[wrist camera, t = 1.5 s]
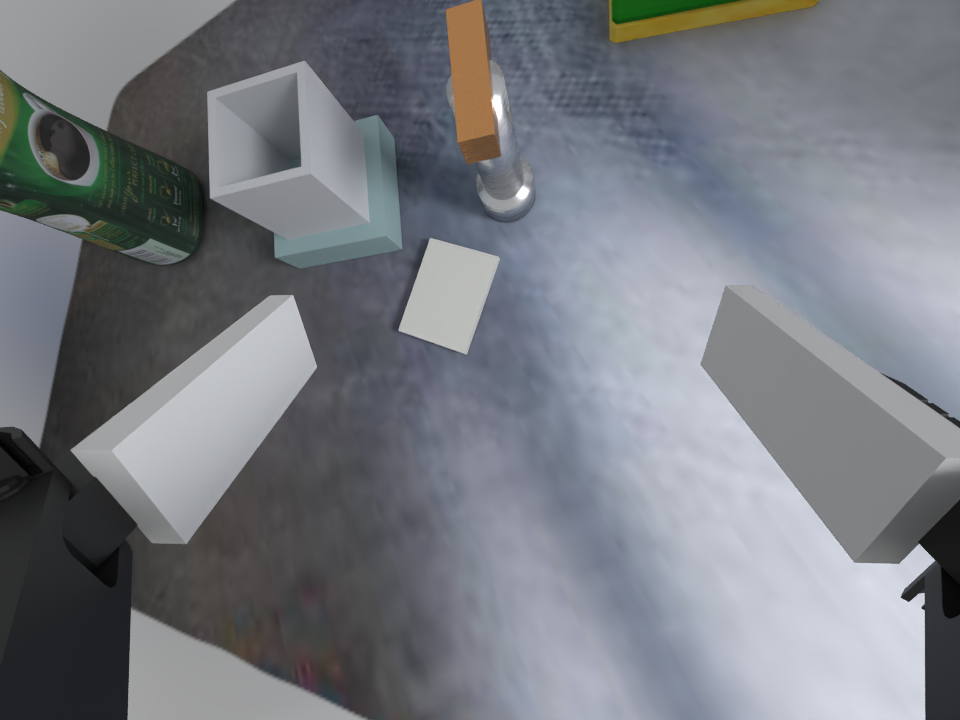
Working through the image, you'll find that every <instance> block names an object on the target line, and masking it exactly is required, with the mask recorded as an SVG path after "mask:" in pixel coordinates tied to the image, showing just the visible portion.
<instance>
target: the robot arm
mask: <svg viewBox="0 0 960 720" xmlns="http://www.w3.org/2000/svg"><path fill="white" fill-rule="evenodd" d="M701 366H702V367H703V368H704V370H705V371H706V372H707V373H708V375H709V376H710V377H711V379H712V380H713V381H714V382H715V384H716V385H717V386H718V388H719V389H720V390H721V391H722V393H723V394H724V395H725V397H726V398H727V399H728V400H729V402H730V403H731V404H732V406H733V407H734V408H735V409H736V411H737V412H738V413H739V415H740V416H741V417H742V418H743V420H744V421H745V422H746V424H747V425H748V426H749V427H750V429H751V430H752V431H753V433H754V434H755V435H756V436H757V438H758V439H759V440H760V442H761V443H762V444H763V445H764V447H765V448H766V449H767V451H768V452H769V453H770V454H771V456H772V457H773V458H774V460H775V461H776V462H777V463H778V465H779V466H780V467H781V469H782V470H783V471H784V472H785V474H786V475H787V476H788V478H789V479H790V480H791V481H792V483H793V484H794V485H795V487H796V488H797V489H798V491H799V492H800V493H801V494H802V496H803V497H804V498H805V500H806V501H807V502H808V503H809V505H810V506H811V507H812V509H813V510H814V511H815V512H816V514H817V515H818V516H819V518H820V519H821V520H822V521H823V523H824V524H825V525H826V527H827V528H828V529H829V530H830V532H831V533H832V534H833V536H834V537H835V538H836V539H837V541H838V542H839V543H840V545H841V546H842V547H843V548H844V550H845V551H846V552H847V554H848V555H849V556H850V557H851V559H852V560H853V561H854V562H855V563H891V564H899V563H900V562H901V561H902V560H903V559H904V558H905V557H906V556H907V555H908V554H909V553H910V552H911V551H912V550H913V549H914V548H915V547H916V546H917V545H918V544H920V545H921V546H922V547H923V548H924V549H925V550H926V551H927V552H928V553H929V554H930V555H931V556H932V557H933V558H934V559H935V560H936V561H935V562H934V563H932V564H931V565H930V566H929V567H928V568H927V569H926V570H925V571H924V572H923V573H922V574H921V575H919V576H918V577H917V578H916V579H915V580H914V581H913V582H912V583H911V584H910V585H909V586H908V587H907V588H905V589H904V591H903V593H902V596H901V598H902V599H904V600H906V601H908V602H909V601H911V600H912V599H913V598H914V597H915V596H916V595H917V594H919V593H925V604H924V605H923V606H922V609H924V610H925V715H926V720H960V421H958V420H957V419H955V418H954V417H948V413H947V412H945V411H944V410H942V409H941V408H939V407H938V406H936V405H935V404H933V403H928V400H927V399H926V398H925V397H923V396H922V395H920V394H919V393H917V392H916V391H914V390H913V389H911V388H910V387H908V386H907V385H905V384H904V383H902V382H899V381H897V380H895V379H893V378H890V377H888V376H886V375H884V374H882V373H879V372H878V371H877V370H875V369H874V368H872V367H871V366H869V365H868V364H866V363H865V362H864V361H862V360H861V359H859V358H858V357H856V356H855V355H853V354H852V353H851V352H849V351H848V350H846V349H845V348H843V347H842V346H840V345H839V344H838V343H836V342H835V341H833V340H832V339H830V338H829V337H827V336H826V335H825V334H823V333H822V332H820V331H819V330H817V329H816V328H815V327H813V326H812V325H810V324H809V323H807V322H806V321H804V320H803V319H802V318H800V317H799V316H797V315H796V314H794V313H793V312H791V311H790V310H789V309H787V308H786V307H784V306H783V305H781V304H780V303H778V302H777V301H776V300H774V299H773V298H771V297H770V296H768V295H767V294H765V293H764V292H763V291H761V290H760V289H758V288H757V287H755V286H754V285H730V286H725V289H724V292H723V296H722V299H721V302H720V305H719V308H718V311H717V314H716V317H715V321H714V324H713V327H712V330H711V333H710V336H709V339H708V342H707V346H706V349H705V352H704V355H703V358H702V361H701ZM316 368H317V365H316V362H315V359H314V356H313V353H312V350H311V347H310V344H309V341H308V338H307V335H306V332H305V329H304V326H303V323H302V320H301V317H300V314H299V311H298V308H297V305H296V302H295V299H294V296H293V295H272V296H269V297H267V298H266V299H265V300H263V301H262V302H261V303H260V304H258V305H257V306H256V307H254V308H253V309H252V310H251V311H249V312H248V313H247V314H245V315H244V316H243V317H241V318H240V319H239V320H238V321H236V322H235V323H234V324H232V325H231V326H230V327H229V328H227V329H226V330H225V331H223V332H222V333H221V334H220V335H218V336H217V337H216V338H214V339H213V340H212V341H210V342H209V343H208V344H207V345H205V346H204V347H203V348H201V349H200V350H199V351H198V352H196V353H195V354H194V355H192V356H191V357H190V358H189V359H187V360H186V361H185V362H183V363H182V364H181V365H179V366H178V367H177V368H176V369H174V370H173V371H172V372H170V373H169V374H168V375H167V376H165V377H164V378H163V379H161V380H160V381H159V382H158V383H156V384H155V385H154V386H152V387H150V388H148V389H147V390H146V391H144V392H143V393H142V394H140V395H139V396H138V397H136V398H135V399H134V400H133V401H131V402H130V404H129V405H126V406H125V407H123V408H122V409H121V410H120V411H118V412H117V413H116V414H115V416H114V417H110V418H109V419H108V420H107V421H105V422H104V423H103V424H101V425H100V426H99V427H97V428H96V429H95V430H94V431H92V432H91V433H90V434H88V435H87V436H86V437H84V438H83V439H82V440H81V441H79V442H78V443H77V444H75V445H74V446H73V447H72V448H70V449H69V450H68V451H66V452H65V453H64V454H62V455H61V456H60V457H59V458H57V459H56V460H55V461H53V462H51V461H50V459H49V458H48V457H47V456H46V455H45V454H44V453H43V452H42V451H41V450H40V449H39V448H38V447H37V446H36V445H35V444H34V442H33V441H32V440H31V439H30V438H29V437H28V436H27V435H26V434H25V433H24V432H23V431H22V430H21V429H18V428H15V427H3V428H0V720H127V715H128V682H129V680H128V679H129V650H130V617H131V585H132V553H133V552H132V549H131V547H130V545H129V544H128V542H127V541H126V540H125V538H126V537H127V536H128V535H129V534H130V533H131V532H132V531H133V530H134V528H135V527H136V526H138V528H139V529H140V530H141V531H142V532H143V533H144V534H145V536H146V537H147V538H148V539H149V540H150V541H151V542H152V543H169V544H187V542H188V541H189V540H190V538H191V537H192V536H193V534H194V533H195V532H196V530H197V529H198V527H199V526H200V525H201V523H202V522H203V521H204V519H205V518H206V517H207V515H208V514H209V513H210V511H211V510H212V509H213V507H214V506H215V505H216V503H217V502H218V500H219V499H220V498H221V496H222V495H223V494H224V492H225V491H226V490H227V488H228V487H229V486H230V484H231V483H232V482H233V480H234V479H235V478H236V476H237V475H238V473H239V472H240V471H241V469H242V468H243V467H244V465H245V464H246V463H247V461H248V460H249V459H250V457H251V456H252V455H253V453H254V452H255V451H256V449H257V448H258V446H259V445H260V444H261V442H262V441H263V440H264V438H265V437H266V436H267V434H268V433H269V432H270V430H271V429H272V428H273V426H274V425H275V424H276V422H277V421H278V419H279V418H280V417H281V415H282V414H283V413H284V411H285V410H286V409H287V407H288V406H289V405H290V403H291V402H292V401H293V399H294V398H295V397H296V395H297V394H298V392H299V391H300V390H301V388H302V387H303V386H304V384H305V383H306V382H307V380H308V379H309V378H310V376H311V375H312V374H313V372H314V371H315V370H316Z"/></svg>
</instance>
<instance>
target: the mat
mask: <svg viewBox="0 0 960 720" xmlns="http://www.w3.org/2000/svg"><path fill="white" fill-rule="evenodd" d="M499 261H500V258H499V257H498V256H494V255H490V254H487V253H483V252H480V251H476V250H472V249H469V248H465V247H461V246H458V245H454V244H451V243H447V242H443V241H440V240H436V239H432V238H430V240H429V243H428V246H427V249H426V252H425V255H424V257H423V260H422V263H421V266H420V269H419V272H418V275H417V278H416V281H415V283H414V286H413V289H412V292H411V295H410V298H409V301H408V304H407V307H406V309H405V312H404V315H403V318H402V321H401V324H400V327H399V330H398V331H400V332H403V333H406V334H409V335H412V336H415V337H418V338H421V339H423V340H426V341H429V342H432V343H435V344H438V345H441V346H443V347H446V348H449V349H452V350H455V351H458V352H461V353H464V354H466V355H467V353H468V350H469V347H470V344H471V341H472V339H473V336H474V333H475V330H476V327H477V324H478V321H479V318H480V316H481V313H482V310H483V307H484V304H485V301H486V298H487V295H488V293H489V290H490V287H491V284H492V281H493V278H494V275H495V272H496V270H497V267H498V264H499Z"/></svg>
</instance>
